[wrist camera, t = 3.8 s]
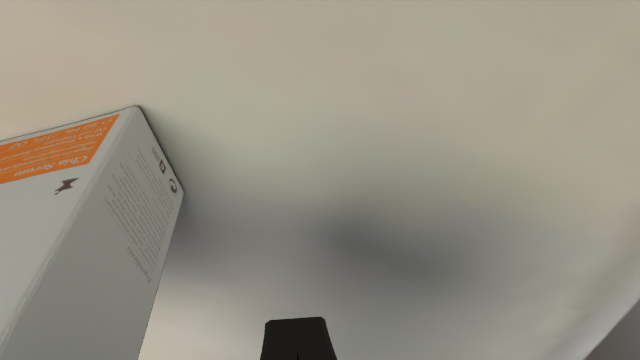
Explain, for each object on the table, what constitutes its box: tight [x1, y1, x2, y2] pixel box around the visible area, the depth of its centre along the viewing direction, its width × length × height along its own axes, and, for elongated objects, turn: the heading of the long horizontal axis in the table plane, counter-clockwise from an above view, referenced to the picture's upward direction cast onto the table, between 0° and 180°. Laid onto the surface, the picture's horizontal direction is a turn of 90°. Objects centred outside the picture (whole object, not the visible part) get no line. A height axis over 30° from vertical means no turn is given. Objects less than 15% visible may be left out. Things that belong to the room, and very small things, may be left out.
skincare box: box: [0, 106, 184, 360], centre depth 12 cm, size 6×4×12 cm
